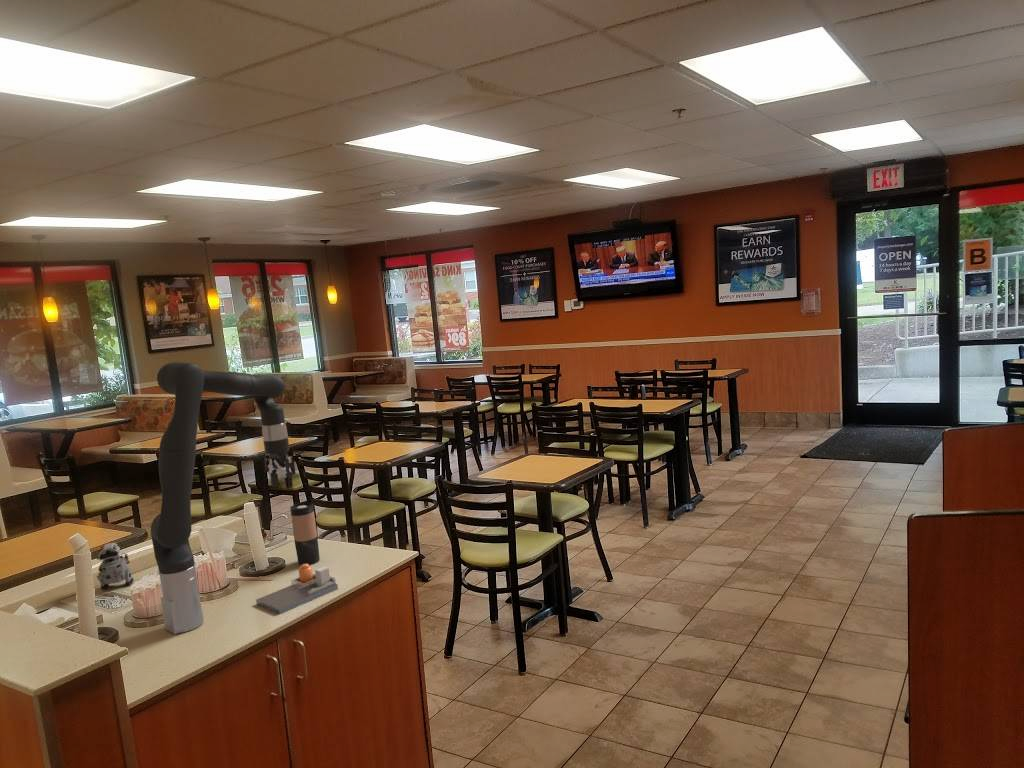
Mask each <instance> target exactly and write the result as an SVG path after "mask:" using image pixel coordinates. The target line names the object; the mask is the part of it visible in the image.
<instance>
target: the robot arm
mask: <svg viewBox="0 0 1024 768" xmlns="http://www.w3.org/2000/svg"><path fill="white" fill-rule="evenodd" d="M156 382H157V385H158V386H159V388H160V389H161V390H162V391H164V392H165V393H167V394H170V395H174V396H175V397H174V400H175V401H174V408H173V409H174V410H173V415H172V417H171V419H170V422H169V423H168V425H167V427H166V429H165V430H164V432H163V434H162V436H161V439H160V443H159V449H158V474H159V483H160V489H161V505H160V506H161V507H160V513H158V514H157V515H155V517H154V518H153V520H152V522H151V525H150V536H151V540H152V541H151V542H152V547H153V552H154V558H155V561H156V565H157V569H158V574H159V580H160V585H161V587H160V588H161V593H162V597H160V603H161V604H160V605H161V609H162V614H163V621H164V622H163V623H164V628H165V630H166V631H167V632H169V633H171V634H173V635H177V634H180V633H185V632H189V631H192V630H195V629H197V628H199V627H200V626H202V625H203V624H204V615H203V614H204V613H203V607H202V603H201V595H200V591H199V590H200V589H199V582H198V577H197V570H196V563H195V558H194V557H195V556H194V553H193V551H192V549H191V546H190V540H189V538H190V537H191V533H192V509H191V507H192V506H191V499H192V497H191V496H192V488H193V482H194V475H195V474H194V472H195V464H196V450H197V434H198V425H199V424H198V423H199V415H200V408H201V402H202V398H203V397H202V396H203V392H206V393H207V392H208V393H213V394H221V395H229V396H238V397H253V399H254V401H255V403H256V406H257V408H258V411H259V413H260V418H261V427H262V429H261V433H262V439H263V447H264V453H265V454H264V455H263V461H264V468H265V469H264V471H265V473H268V475H270V483H271V486H272V487H275V486H278V485H279V483H280V482H279V476H278V471H279V472H280V473H282V475H283V477H284V485H285V486H284V487H285V489H286V490H287V489H289V490H290V489H293V487H294V485H293V476H294V475H296V467H295V462H294V457H293V455H290V456H289V455H287V452H288V451H289V450H290V443H289V434H288V430H287V429H288V428H287V424H286V419H285V413H284V408H283V406H282V405H280V404H277V403H276V402H275V400H274V399H275V398H279V397H281V396H282V395H283V394H284V393H285V391H286V382H285V381H284V380H283V378H282V377H279V376H278V375H272V374H271V375H270V374H251V373H247V372H239V371H217V370H216V371H215V370H203V369H202V368H201V367H200V366H199V365H197V364H196V363H192V362H180V361H173V362H169V363H166V364H164V365H163V366H161V368H160V369H159V370H158V372H157V377H156Z"/></svg>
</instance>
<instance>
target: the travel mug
mask: <svg viewBox="0 0 1024 768" xmlns="http://www.w3.org/2000/svg"><path fill="white" fill-rule="evenodd" d="M289 509H290V517H291V524H292V530H293V538H294V544H295V545H294V547H295V551H296V552H295V553H296V557H297V563H298V565H299V566H301V565H302V564H309V565H311V566H312V565H314V564H317V563H318V562H320V559H321V557H320V551H319V550H320V549H319V539H318V530H317V525H316V517H315V509H314V504H313V502H309V501H308V502H300V503H296V504H293V505H291V506H290V507H289Z"/></svg>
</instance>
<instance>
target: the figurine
mask: <svg viewBox="0 0 1024 768" xmlns="http://www.w3.org/2000/svg"><path fill="white" fill-rule="evenodd" d="M99 548H100V549H101V550H100V552H99V554H98V556H97V558H96V561H97V560H98V561H101V562H100V564H99V567H98V575H96V578H97V580H98V582H99V583H100V590H102V591H104V590H106V589H107V588H108V587H109V585H112V584H119V583H121V582H123V581H125V583H124V584H125V586H126V587H130V586H131V585H132V584H133V583H134V581H135V579H134V577H133V573H132V571H131V569H130V568H128V565H127V564H130V562H131V561H130V560H129V556H128V553H125V552H124V553H122V554H121V555H120V554H119V553H120V550H121V547H120V546H118V544H117V543H115V542H109V543H106V544H104V546H100V547H99ZM123 555H124V556H123Z"/></svg>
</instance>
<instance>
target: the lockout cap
mask: <svg viewBox="0 0 1024 768" xmlns="http://www.w3.org/2000/svg"><path fill="white" fill-rule="evenodd" d="M313 574H314V573H313V566H312V565H309V564H302V565H300V566H299V567H298V577H300V582H302V583H306V582H308V581H311V580H313Z"/></svg>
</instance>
